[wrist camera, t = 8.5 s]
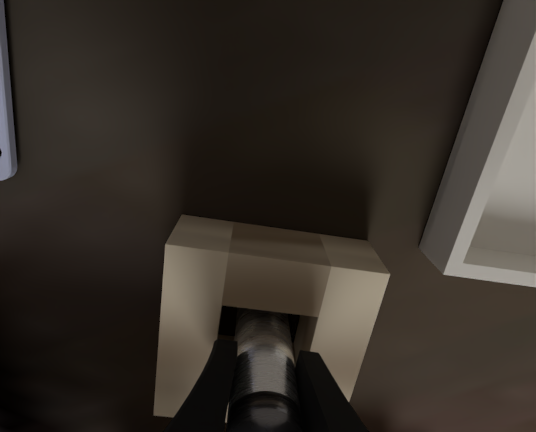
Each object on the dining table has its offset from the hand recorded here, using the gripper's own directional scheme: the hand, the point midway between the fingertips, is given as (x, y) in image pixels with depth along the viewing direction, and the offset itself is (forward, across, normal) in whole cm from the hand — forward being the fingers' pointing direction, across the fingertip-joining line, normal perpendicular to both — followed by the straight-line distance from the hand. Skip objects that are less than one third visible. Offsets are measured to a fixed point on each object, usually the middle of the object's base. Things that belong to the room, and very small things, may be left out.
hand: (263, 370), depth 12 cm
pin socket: (+3, 0, 0) cm, 3 cm away
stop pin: (+3, 0, 0) cm, 3 cm away
